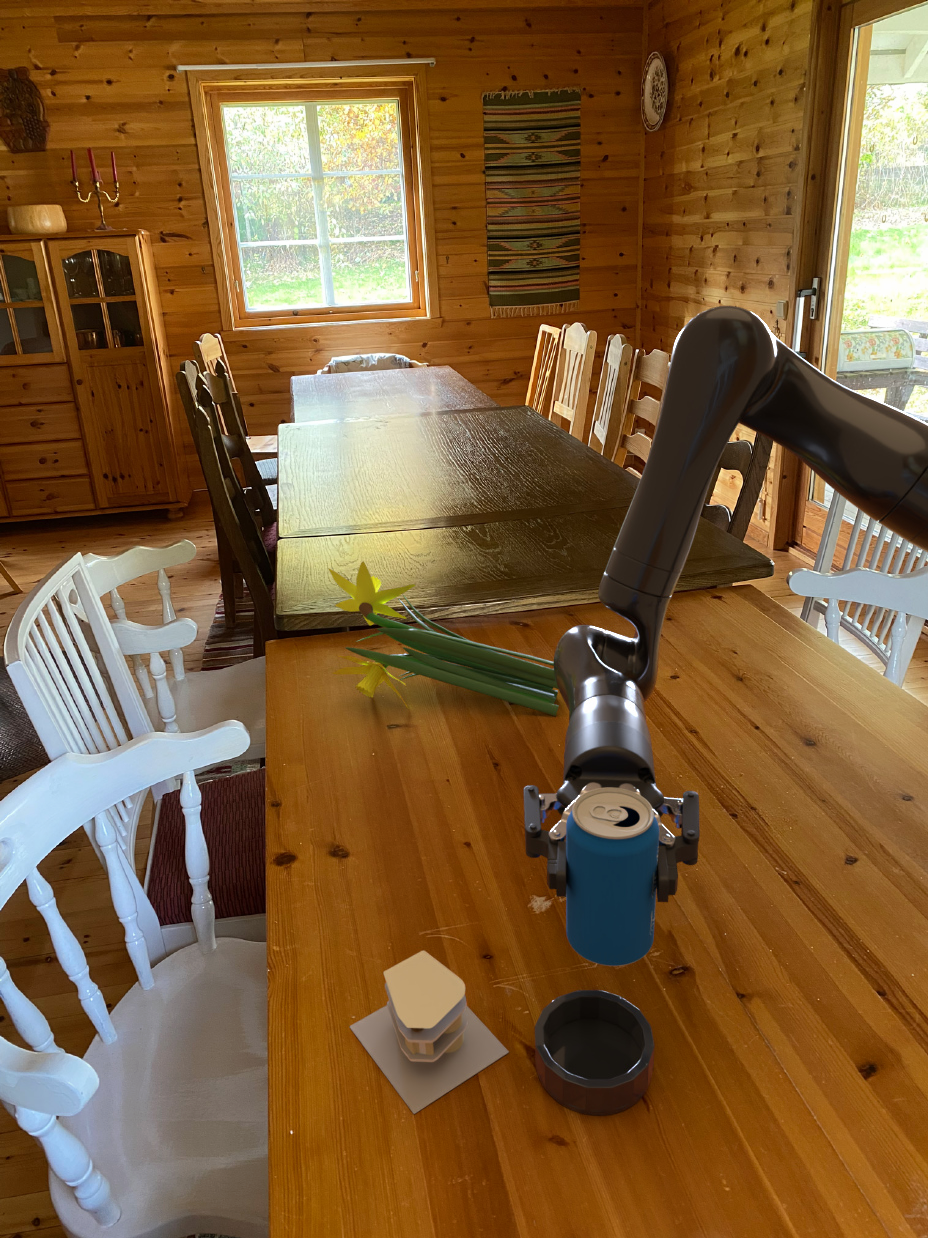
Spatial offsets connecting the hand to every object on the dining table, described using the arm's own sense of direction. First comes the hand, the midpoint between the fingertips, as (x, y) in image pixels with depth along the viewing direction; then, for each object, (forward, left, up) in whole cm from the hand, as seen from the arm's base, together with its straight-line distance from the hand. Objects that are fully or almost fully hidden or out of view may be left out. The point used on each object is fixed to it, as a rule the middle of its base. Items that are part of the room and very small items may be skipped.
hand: (612, 890), depth 64 cm
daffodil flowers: (+37, -49, -18) cm, 64 cm away
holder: (+1, 0, -17) cm, 17 cm away
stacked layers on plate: (+14, +3, -18) cm, 23 cm away
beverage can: (+1, -2, -7) cm, 8 cm away
